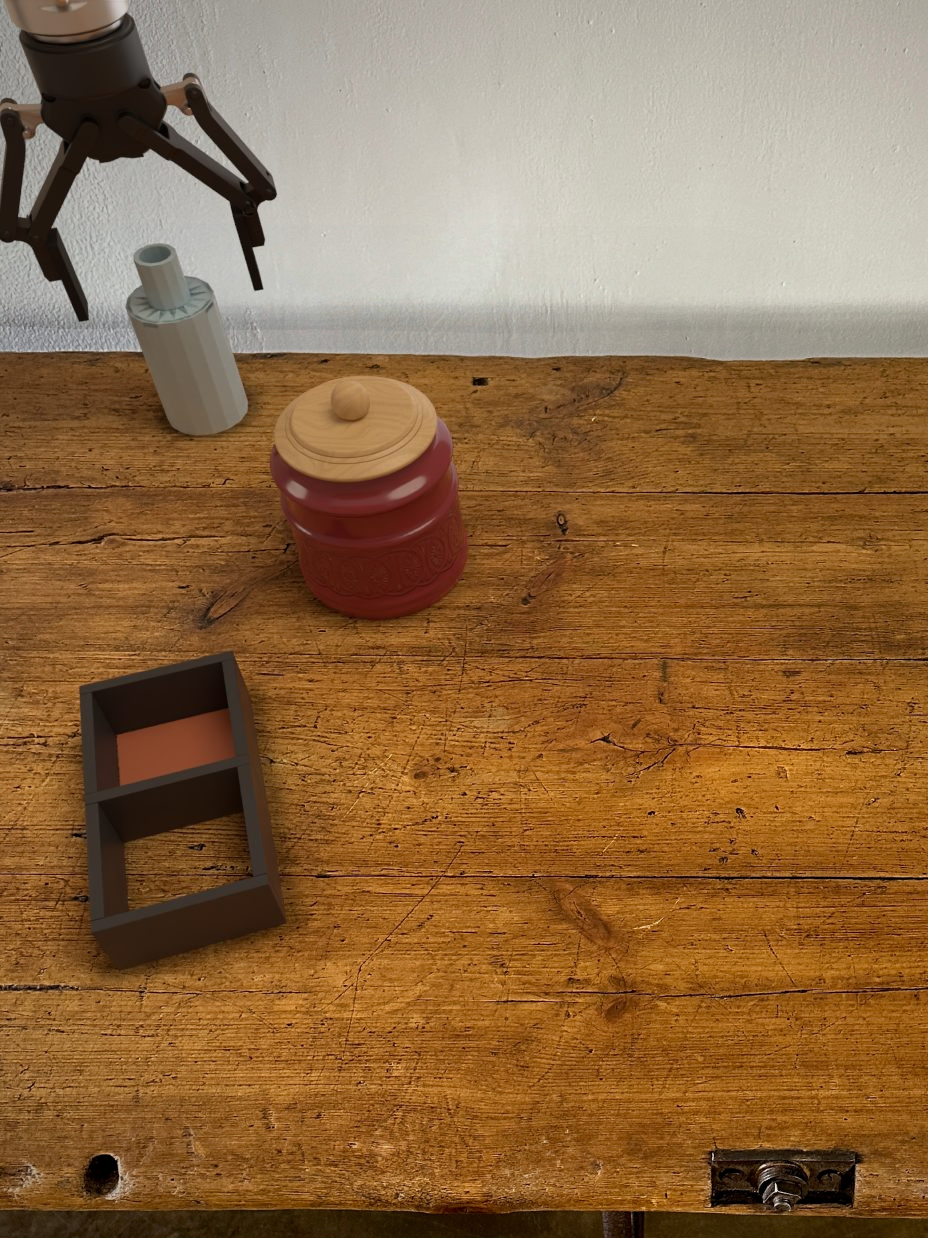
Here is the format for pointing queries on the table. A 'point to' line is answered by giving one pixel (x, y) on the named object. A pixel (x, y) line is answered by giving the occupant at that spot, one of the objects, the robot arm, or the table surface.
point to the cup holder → (173, 802)
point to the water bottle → (185, 345)
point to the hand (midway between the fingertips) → (171, 296)
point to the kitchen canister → (370, 496)
